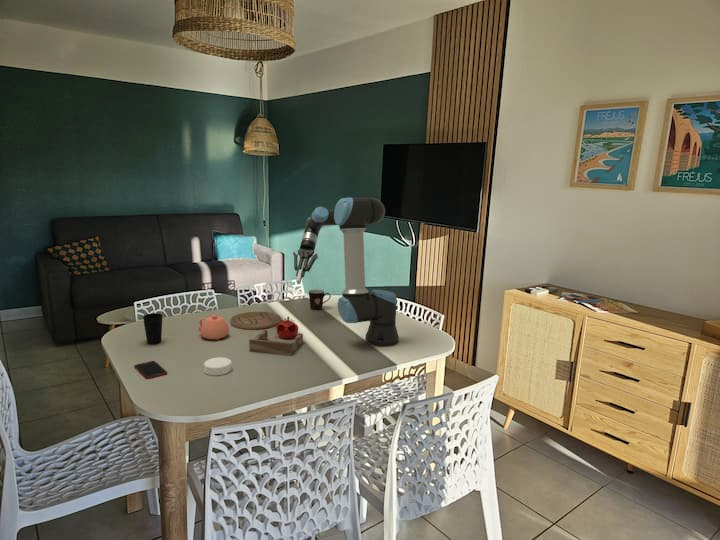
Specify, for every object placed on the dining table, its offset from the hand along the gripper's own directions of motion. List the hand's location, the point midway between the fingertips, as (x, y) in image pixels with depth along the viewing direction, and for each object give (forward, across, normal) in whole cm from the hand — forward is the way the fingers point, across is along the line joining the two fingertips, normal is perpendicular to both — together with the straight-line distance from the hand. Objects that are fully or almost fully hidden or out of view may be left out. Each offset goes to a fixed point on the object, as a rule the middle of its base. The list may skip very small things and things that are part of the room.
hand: (298, 282), depth 229 cm
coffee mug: (-6, -2, -38) cm, 38 cm away
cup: (+43, +52, +12) cm, 69 cm away
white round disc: (+57, +13, +26) cm, 64 cm away
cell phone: (+62, +36, +30) cm, 78 cm away
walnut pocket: (+36, 0, +5) cm, 36 cm away
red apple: (+27, 0, -4) cm, 27 cm away
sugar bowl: (+34, +32, +2) cm, 46 cm away
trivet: (+16, +22, -16) cm, 31 cm away
